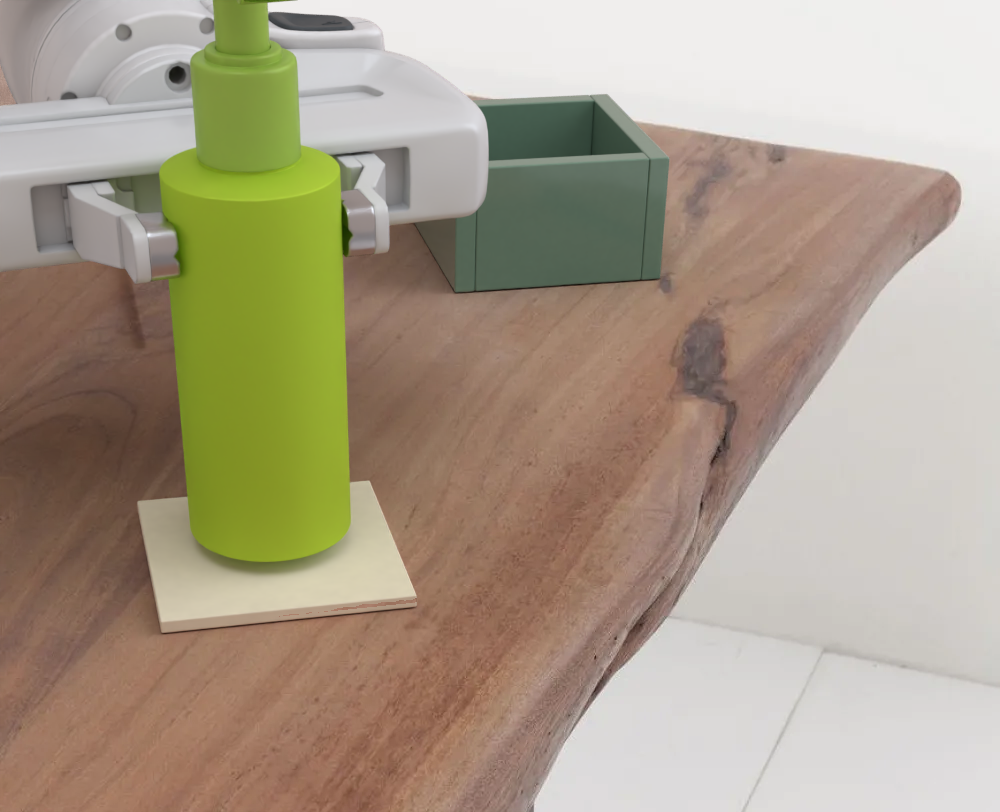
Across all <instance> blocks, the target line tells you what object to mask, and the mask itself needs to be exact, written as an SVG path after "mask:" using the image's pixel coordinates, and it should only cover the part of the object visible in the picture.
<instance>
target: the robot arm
mask: <svg viewBox="0 0 1000 812" xmlns="http://www.w3.org/2000/svg"><path fill="white" fill-rule="evenodd" d="M268 21H269V40H271V41H274V42H276V43H278V44H279V45H280V46H281V48H284V49H286V50H289V51H290V52H292V53H293V54H294V55H295V56H296V59H297V67H298V90H299V113H300V137H301V145H303V146H307V147H311V148H314V149H317V150H319V151H322V152H324V153H326V154H328V155H330V156H331V157H332V158H334V159H335V160H336V161H337V163H338V164H339V166H340V178H341V210H342V243H343V257H345V258H353V257H363V256H373V255H378V254H387V253H388V251H389V250H390V246H391V244H390V241H391V240H390V226H398V225H404V224H414V223H415V222H423V221H432V220H440V219H450V218H461V217H466V216H469V215H472V214H473V213H475V212H476V211H477V210H478V208H479V207H480V206H481V205H482V204H483V202H484V200H485V197H486V192H487V183H488V166H489V146H488V130H487V123H486V119H485V117H484V114H483V113H482V111H481V110H480V108H479V107H478V106H477V105H476V104H475V103H474V102H473V101H472V100H473V99H471V98H470V97H469V96H468V95H467V94H466V93H464V92H463V91H462V90H461V89H459V88H458V87H457V86H455V84H453V83H452V82H451V81H449V80H448V79H446V78H445V77H444V76H443V75H441V74H440V73H438V72H437V71H436V70H434V69H432V68H431V67H430V66H428V65H427V64H425V63H423V62H422V61H419V60H417V59H416V58H413V57H411V56H408V55H405V54H402V53H398V52H394V51H390V50H386V45H385V39H384V32H383V29H382V28H381V27H380V26H379V25H378V24H377V23H375V22H373V21H371V20H369V19H367V18H362V17H357V16H341V15H334V14H313V13H299V12H285V11H269V10H268ZM213 41H215V29H214V14H213V0H0V68H1V71H2V74H3V77H4V80H5V83H6V85H7V87H8V90H9V92H10V94H11V96H12V98H13V100H14V102H15V103H13V104H3V105H2V104H1V105H0V273H6V272H14V271H22V270H30V269H37V268H38V269H39V268H47V267H55V266H62V265H63V266H64V265H71V264H79V263H89V262H93V263H95V264H100V265H104V266H108V267H111V268H115V269H119V270H125V272H127V274H128V276H129V277H130V279H131V280H132V282H133V283H134V285H138V284H139V285H140V284H147V283H151V282H152V283H153V282H159V281H166V280H168V279H174V278H179V277H180V263H179V261H178V260H177V259H176V257H175V255H176V253H177V251H178V240H177V234H176V230H175V227H174V225H173V224H172V223H171V222H168V218H167V217H166V216H165V215H164V213H163V212H162V201H161V189H160V178H159V171H160V168H161V166H162V164H163V163H164V162H165V161H166V160H168V159H169V158H171V157H172V156H174V155H176V154H178V153H180V152H183V151H186V150H188V149H192V148H195V147H196V138H195V125H194V112H193V99H192V85H191V72H190V60H191V57H192V56H193V55H194V54H195V53H196V52H198V51H200V50H202V49H204V48H205V46H206V45H207V44H209V43H211V42H213Z"/></svg>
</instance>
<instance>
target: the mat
mask: <svg viewBox="0 0 1000 812" xmlns="http://www.w3.org/2000/svg"><path fill="white" fill-rule="evenodd" d="M372 485H373V484H372V483H371V481H370V480H360V481H359V480H357V481H350V505H351V524H350V527H349V529H348V531H347V533H346V534H345V536H344V537H343V538H342V539H341V540H340V541H338V542H337V543H336V544H334V545H333V546H331V547H329V548H327V549H325V550H323V551H321V552H319V553H316V554H313V555H310V556H307V557H303V558H298V559H293V560H287V561H276V562H255V561H245V560H239V559H234V558H230V557H226V556H223V555H220V554H217V553H215V552H213V551H211V550H209V549H207V548H205V547H204V546H203V545H201V544H200V543H199V542H198V541H197V540H196V539H195V537H194V536H193V534H192V532H191V529H190V520H189V508H188V497H187V496H180V497H179V496H178V497H168V498H167V497H166V498H156V499H146V500H138V501H137V502H136V505H137V513H138V514H137V515H138V519H139V524H140V528H141V534H142V535H141V536H142V540H143V544H144V551H145V556H146V561H147V565H148V570H149V571H148V572H149V576H150V581H151V586H152V591H153V597H154V603H155V608H156V612H157V618H158V622H159V628H160V632H161V633H162V634H168V633H177V632H185V631H186V632H187V631H197V630H205V629H215V628H224V627H226V628H227V627H234V626H244V625H252V624H255V625H256V624H263V623H273V622H283V621H292V620H302V619H313V618H321V617H331V616H341V615H349V614H359V613H369V612H378V611H389V610H399V609H408V608H416V607H417V606H418V601H417V602H415V603H406V604H396V605H386V606H377V607H367V608H357V609H348V610H338V611H331V610H334V609H337V608H343V607H356V606H359V605H362V604H378V603H381V602H396V601H399V600H404V601H406V600H413V599H415V598H417V599H418V597H417V596H418V595H417V593H416V591H415V590H416V589H415V588H414V586H413V583H412V581H411V579H410V578H411V577H410V576H409V573H408V571H407V569H406V566H405V563H404V561H403V559H402V556H401V554H400V552H399V549H398V546H397V544H396V541H395V539H394V537H393V535H392V532H391V530H390V527H389V525H388V522H387V519H386V517H385V515H384V513H383V510H382V507H381V505H380V503H379V500H378V498H377V495H376V493H375V491H374V488H373V486H372ZM324 611H328V612H324ZM309 612H312V613H309ZM318 612H319V613H318ZM306 613H309V614H306ZM289 614H299V615H290V616H283V615H289ZM279 616H280V617H279Z"/></svg>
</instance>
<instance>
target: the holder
mask: <svg viewBox="0 0 1000 812" xmlns="http://www.w3.org/2000/svg"><path fill="white" fill-rule="evenodd" d="M471 100H472V101H473V102H474V103H475V104H476V105H477V106H478V107H479V108H480V110H481V111H482V113H483V114H484V117H485V119H486V123H487V130H488V146H489V166H488V183H487V192H486V197H485V200H484V202H483V204H482V205H481V206H480V207H479V208H478V210H477V211H476V212H475V213H473V214H472V215H469V216H466V217H461V218H450V219H440V220H432V221H423V222H415V223H413V224H414V225H415V228H416V229H417V230H418V232H419V234H420V236H421V237H422V239H423V241H424V243H425V244H426V245H427V247H428V249H429V251H430V252H431V254H432V256H433V258H434V259H435V261H436V263H437V264H438V266H439V269H441V271H442V273H443V274H444V276H445V278H446V279H447V281H448V283H449V285H450V286H451V288H452V290H453V291H454V293H467V292H469V293H470V292H483V291H498V290H499V291H500V290H514V289H526V288H527V289H529V288H541V287H556V286H572V285H586V284H601V283H613V282H614V283H615V282H629V281H641V280H642V281H646V280H659V279H661V274H662V273H661V271H662V259H663V249H664V248H663V247H664V235H665V223H666V211H667V210H666V209H667V198H668V197H667V196H668V182H669V171H670V157H669V156H668V155H667V153H666V152H665V151H664V150H663V149H661V147H660V146H659V145H658V144H657V143H656V142H655V141H654V140H653V139H652V138H651V137H650V136H649V135H648V134H647V133H646V132H645V131H644V130H643V129H642V128H641V127H640V126H639V125H638V123H636V122H635V121H634V120H633V119H632V117H631V116H629V114H628V113H626V112H625V110H623V108H622V107H620V105H619V104H618V103H617V102H616V101H615V99H613V98H612V97H611V96H610V95H609V94H607V93H601V94H599V93H598V94H579V95H578V94H577V95H558V96H557V95H555V96H537V97H536V96H535V97H532V96H531V97H514V98H513V97H512V98H492V99H471Z"/></svg>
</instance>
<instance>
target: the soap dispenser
mask: <svg viewBox="0 0 1000 812" xmlns="http://www.w3.org/2000/svg"><path fill="white" fill-rule="evenodd" d="M295 1H297V0H213V14H214V29H215V41H213V42H211V43H209V44H207V45H206V46H205V48H204V49H202V50H200V51H198V52H196V53H195V54H194V55H193V56H192V57H191V60H190V72H191V85H192V99H193V112H194V125H195V138H196V147H195V148H192V149H188V150H186V151H183V152H180V153H178V154H176V155H174V156H172V157H171V158H169V159H168V160H166V161H165V162H164V163H163V164H162V166H161V168H160V171H159V178H160V189H161V201H162V212H163V213H164V215H165V216H166V217H167V218H168V222H171V223H172V224H173V225H174V227H175V230H176V234H177V240H178V251H177V253H176V255H175V257H176V259H177V260H178V261H179V263H180V277H179V278H174V279H167V280H168V289H169V301H170V313H171V325H172V336H173V347H174V348H173V349H174V358H175V359H174V361H175V369H176V370H175V371H176V379H177V380H176V382H177V393H178V406H179V415H180V416H179V417H180V427H181V439H182V449H183V450H182V451H183V461H184V472H185V483H186V497H188V508H189V520H190V529H191V532H192V534H193V536H194V537H195V539H196V540H197V541H198V542H199V543H200V544H201V545H203V546H204V547H205V548H207V549H209V550H211V551H213V552H215V553H217V554H220V555H223V556H226V557H230V558H234V559H239V560H245V561H255V562H276V561H287V560H293V559H298V558H303V557H307V556H310V555H313V554H316V553H319V552H321V551H323V550H325V549H327V548H329V547H331V546H333V545H334V544H336V543H337V542H338V541H340V540H341V539H342V538H343V537H344V536H345V534H346V533H347V531H348V529H349V527H350V524H351V505H350V482H351V478H350V477H351V475H350V474H351V473H350V446H349V445H350V442H349V441H350V440H349V411H348V378H347V376H348V375H347V347H346V344H347V343H346V312H345V311H346V310H345V308H346V307H345V280H344V279H345V278H344V277H345V275H344V255H343V243H342V210H341V178H340V166H339V164H338V163H337V161H336V160H335V159H334V158H332V157H331V156H330V155H328V154H326V153H324V152H322V151H319V150H317V149H314V148H311V147H307V146H303V145H301V137H300V113H299V90H298V67H297V59H296V56H295V55H294V54H293V53H292V52H290V51H289V50H286V49H284V48H281V46H280V45H279V44H278V43H276V42H274V41H271V40H269V21H268V11H269V5H268V4H271V3H282V2H295Z"/></svg>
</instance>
